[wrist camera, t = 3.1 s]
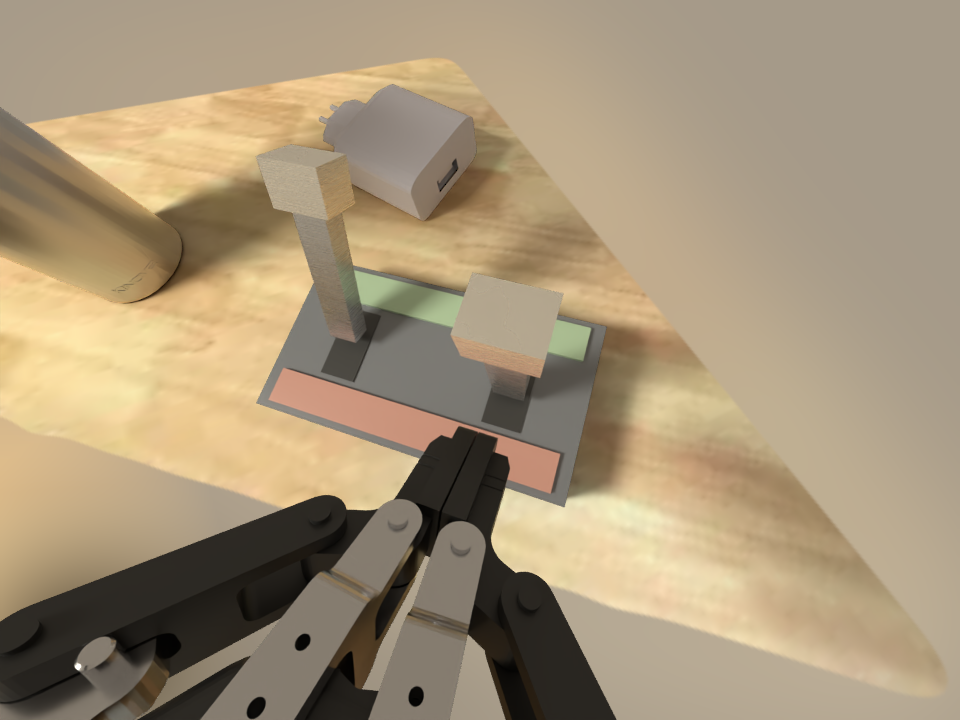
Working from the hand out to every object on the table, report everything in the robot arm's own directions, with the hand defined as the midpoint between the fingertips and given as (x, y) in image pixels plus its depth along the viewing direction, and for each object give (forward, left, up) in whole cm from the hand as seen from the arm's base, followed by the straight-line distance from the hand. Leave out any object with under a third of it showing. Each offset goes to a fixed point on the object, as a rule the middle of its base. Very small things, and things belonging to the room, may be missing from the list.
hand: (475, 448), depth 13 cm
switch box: (-7, +1, -14) cm, 16 cm away
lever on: (-13, -2, -10) cm, 16 cm away
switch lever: (-2, +4, -10) cm, 11 cm away
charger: (-28, +12, -14) cm, 34 cm away
